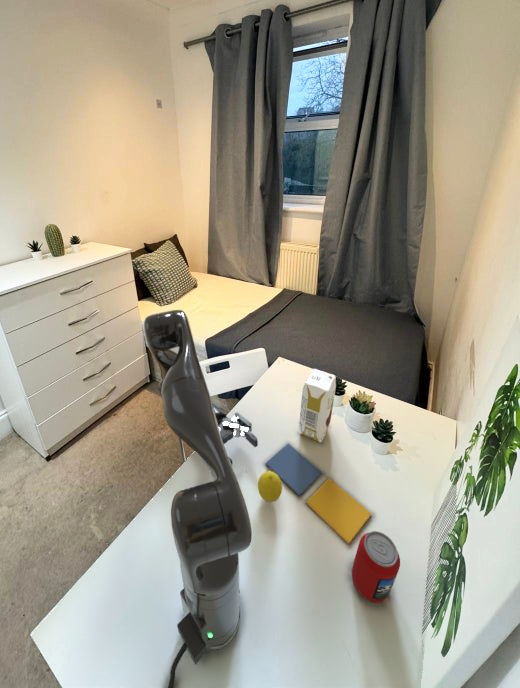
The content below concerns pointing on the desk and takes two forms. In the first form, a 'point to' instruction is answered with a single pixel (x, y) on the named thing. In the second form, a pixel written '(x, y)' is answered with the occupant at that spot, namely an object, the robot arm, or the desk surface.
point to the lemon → (269, 486)
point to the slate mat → (293, 469)
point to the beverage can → (375, 566)
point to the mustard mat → (339, 510)
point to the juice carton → (317, 404)
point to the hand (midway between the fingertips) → (244, 454)
